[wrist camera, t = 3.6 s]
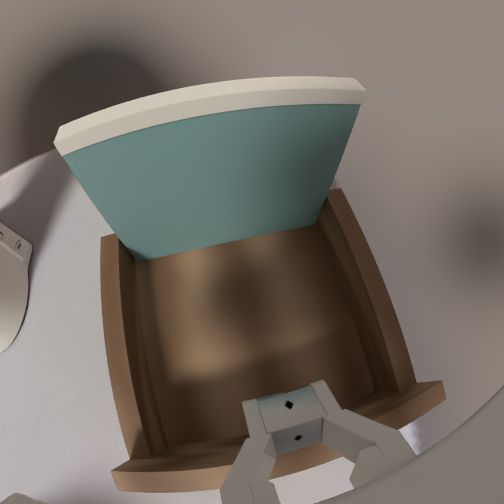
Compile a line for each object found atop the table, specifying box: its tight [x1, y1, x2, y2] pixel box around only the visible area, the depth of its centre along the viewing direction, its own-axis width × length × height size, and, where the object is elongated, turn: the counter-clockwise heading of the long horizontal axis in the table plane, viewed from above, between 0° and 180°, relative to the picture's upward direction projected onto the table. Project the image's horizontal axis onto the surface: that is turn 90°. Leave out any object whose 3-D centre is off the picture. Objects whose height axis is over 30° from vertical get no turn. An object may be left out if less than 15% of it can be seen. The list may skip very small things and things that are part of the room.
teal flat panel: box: [54, 76, 366, 262], centre depth 17 cm, size 16×1×14 cm, turn 104°
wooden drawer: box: [100, 188, 446, 493], centre depth 18 cm, size 20×18×10 cm
